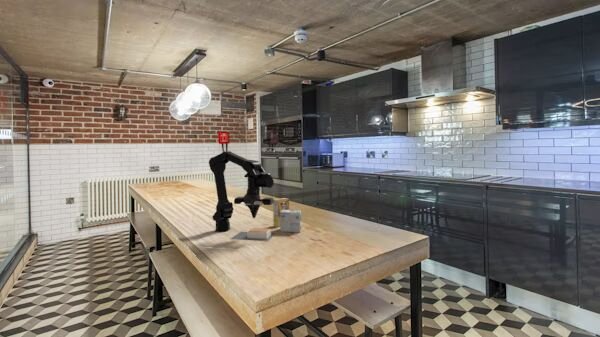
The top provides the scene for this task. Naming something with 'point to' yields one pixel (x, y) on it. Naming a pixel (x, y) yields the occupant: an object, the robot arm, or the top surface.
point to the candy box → (279, 209)
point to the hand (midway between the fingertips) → (254, 218)
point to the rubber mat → (244, 237)
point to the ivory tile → (259, 233)
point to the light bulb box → (290, 220)
